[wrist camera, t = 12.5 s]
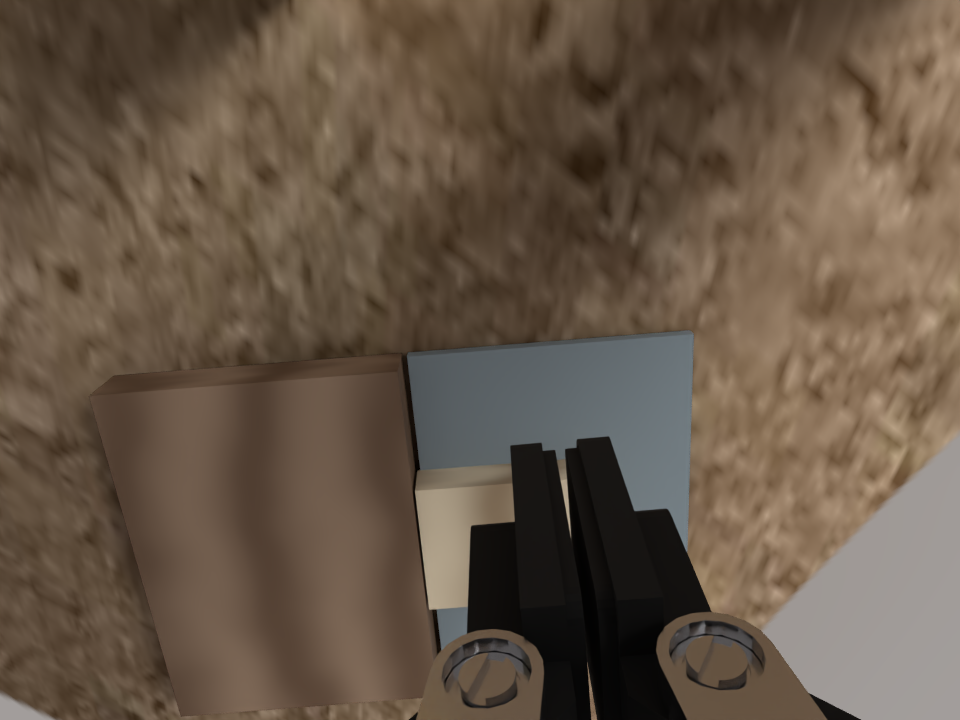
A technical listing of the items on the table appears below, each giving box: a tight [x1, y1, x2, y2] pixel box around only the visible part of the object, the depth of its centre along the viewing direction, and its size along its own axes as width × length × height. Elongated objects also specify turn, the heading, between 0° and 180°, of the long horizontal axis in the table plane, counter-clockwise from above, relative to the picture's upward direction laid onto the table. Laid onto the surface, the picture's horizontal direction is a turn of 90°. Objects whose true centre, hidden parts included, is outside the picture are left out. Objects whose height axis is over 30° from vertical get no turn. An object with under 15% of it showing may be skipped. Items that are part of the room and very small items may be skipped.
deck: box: [89, 353, 438, 717], centre depth 37 cm, size 14×19×2 cm
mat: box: [407, 330, 694, 651], centre depth 38 cm, size 14×19×1 cm
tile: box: [415, 459, 571, 610], centre depth 37 cm, size 9×7×2 cm
